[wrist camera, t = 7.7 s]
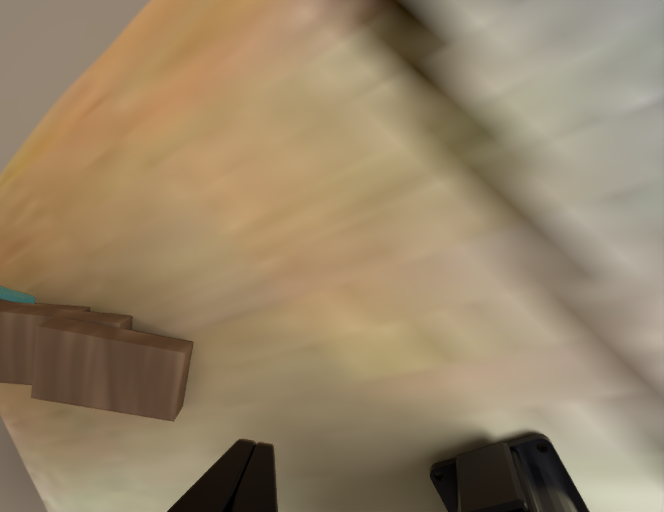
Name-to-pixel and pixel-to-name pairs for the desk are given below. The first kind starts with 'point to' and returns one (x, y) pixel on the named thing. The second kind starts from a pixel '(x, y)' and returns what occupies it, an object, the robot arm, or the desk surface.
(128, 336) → the domino
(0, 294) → the domino
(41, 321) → the domino
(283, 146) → the desk surface
